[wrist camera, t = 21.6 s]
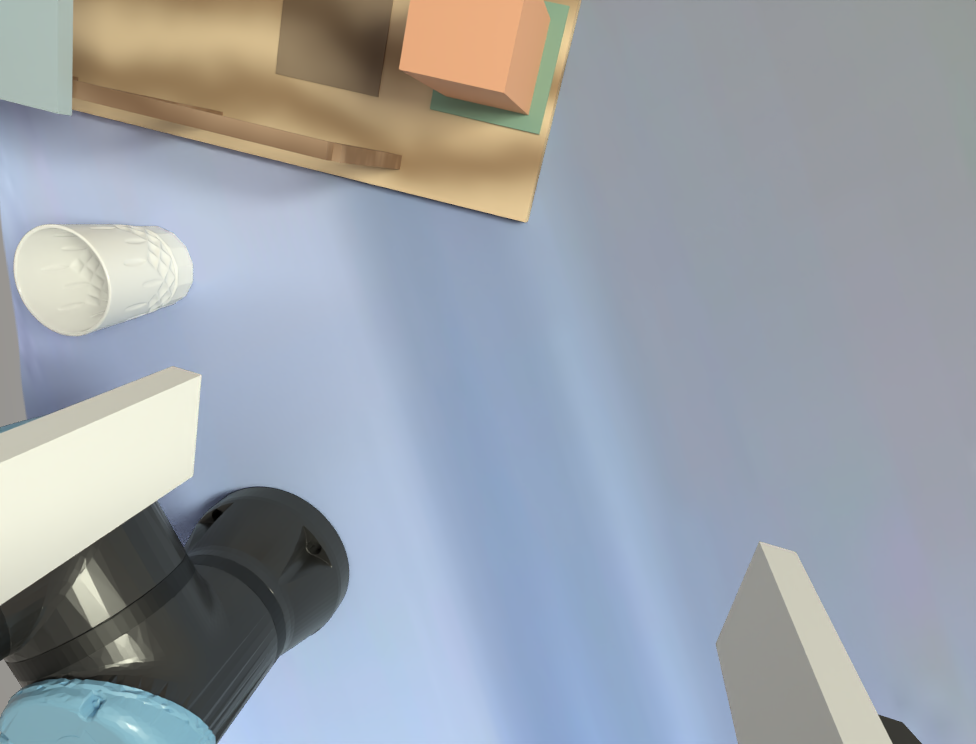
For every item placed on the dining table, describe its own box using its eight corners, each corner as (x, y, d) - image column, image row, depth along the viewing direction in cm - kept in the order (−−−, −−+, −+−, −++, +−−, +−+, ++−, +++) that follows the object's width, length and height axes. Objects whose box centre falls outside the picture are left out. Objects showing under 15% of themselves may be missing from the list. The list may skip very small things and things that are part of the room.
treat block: (528, 115, 43) (504, 92, 33) (445, 96, 43) (398, 69, 34) (550, 19, 41) (531, -34, 31) (463, 1, 41) (419, -56, 32)
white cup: (117, 211, 52) (8, 215, 43) (201, 227, 51) (108, 234, 42) (120, 302, 55) (17, 325, 45) (200, 319, 54) (112, 345, 44)
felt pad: (539, 134, 43) (539, 134, 43) (430, 109, 44) (429, 109, 44) (569, 7, 41) (569, 6, 40) (453, -17, 42) (452, -18, 41)
